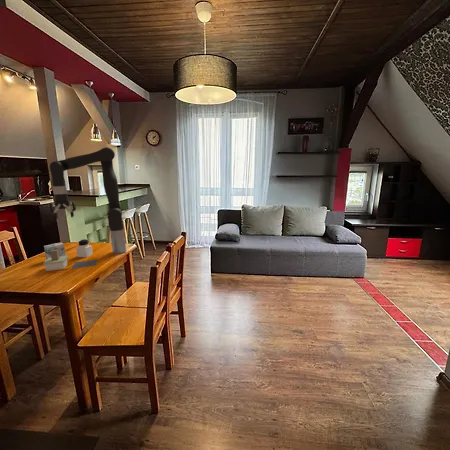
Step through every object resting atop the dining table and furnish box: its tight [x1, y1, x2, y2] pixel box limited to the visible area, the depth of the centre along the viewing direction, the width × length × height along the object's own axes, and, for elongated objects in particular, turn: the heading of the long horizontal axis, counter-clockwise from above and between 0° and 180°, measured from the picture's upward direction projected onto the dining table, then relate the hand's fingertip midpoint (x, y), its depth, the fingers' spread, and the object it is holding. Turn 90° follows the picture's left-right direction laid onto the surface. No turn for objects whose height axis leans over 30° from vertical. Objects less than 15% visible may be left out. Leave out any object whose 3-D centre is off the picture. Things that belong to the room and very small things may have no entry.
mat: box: [70, 258, 99, 270], centre depth 166 cm, size 14×12×1 cm
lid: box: [42, 249, 69, 266], centre depth 159 cm, size 11×11×7 cm
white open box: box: [44, 258, 68, 272], centre depth 161 cm, size 10×10×5 cm
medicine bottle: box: [75, 238, 93, 258], centre depth 181 cm, size 7×7×12 cm
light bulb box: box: [43, 241, 67, 261], centre depth 176 cm, size 11×7×11 cm, turn 143°
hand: (64, 217), depth 166 cm, fingers open, 8 cm apart
